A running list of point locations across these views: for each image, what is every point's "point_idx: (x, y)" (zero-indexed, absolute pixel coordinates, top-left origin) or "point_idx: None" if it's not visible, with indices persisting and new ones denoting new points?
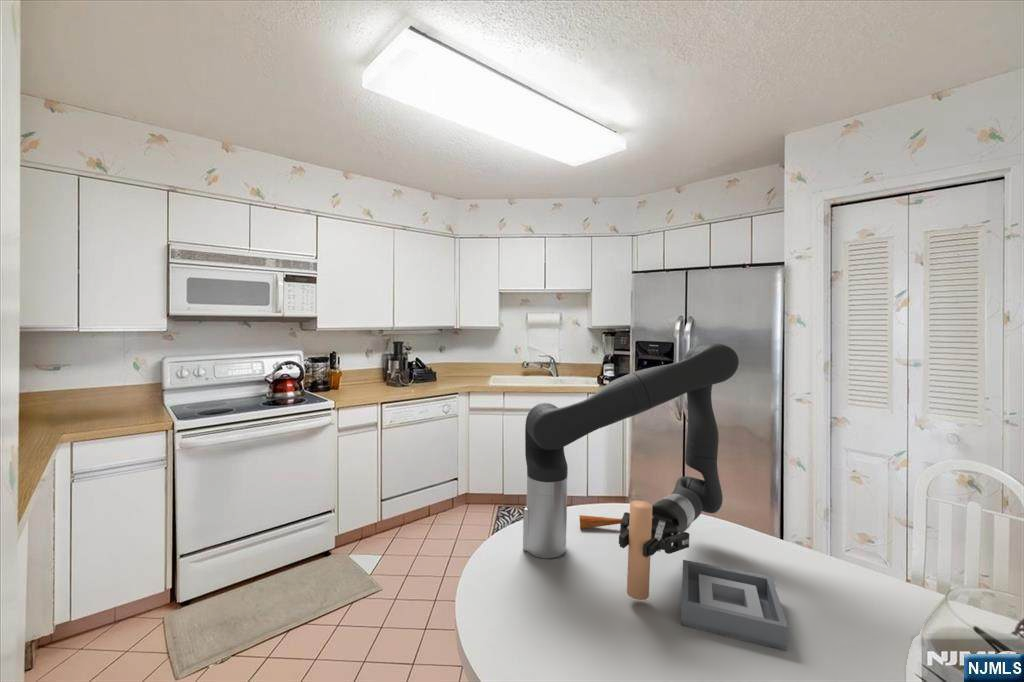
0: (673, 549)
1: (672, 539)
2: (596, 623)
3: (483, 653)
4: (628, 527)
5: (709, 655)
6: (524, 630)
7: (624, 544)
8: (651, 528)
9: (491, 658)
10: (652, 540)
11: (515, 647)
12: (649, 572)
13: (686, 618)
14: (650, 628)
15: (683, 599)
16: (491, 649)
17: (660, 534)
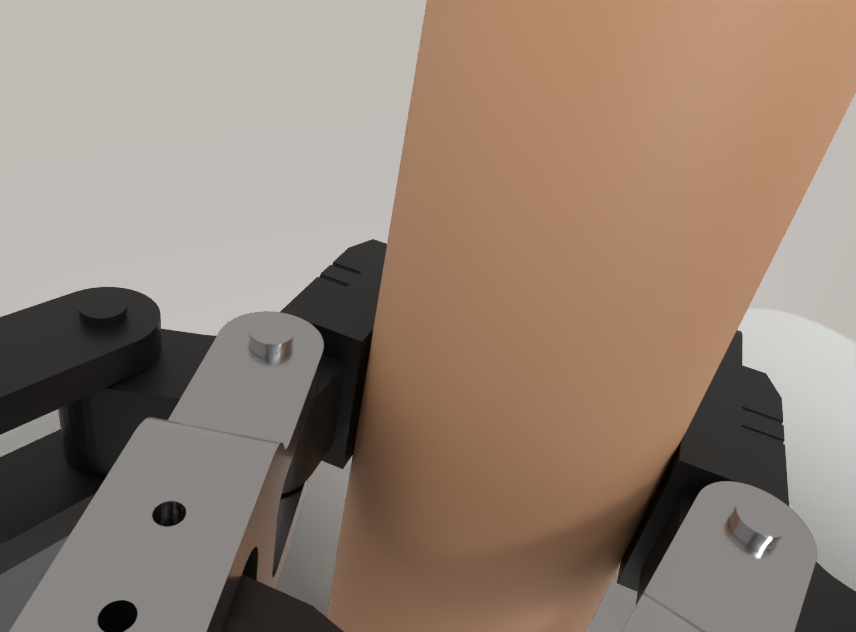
0: (22, 462)
1: (33, 317)
2: None
3: (832, 350)
4: (781, 513)
5: (15, 449)
6: (815, 442)
7: None
8: (395, 200)
9: (798, 340)
10: (354, 291)
11: (776, 378)
12: None
13: None
14: (299, 562)
15: (38, 572)
16: (828, 364)
17: (208, 411)
